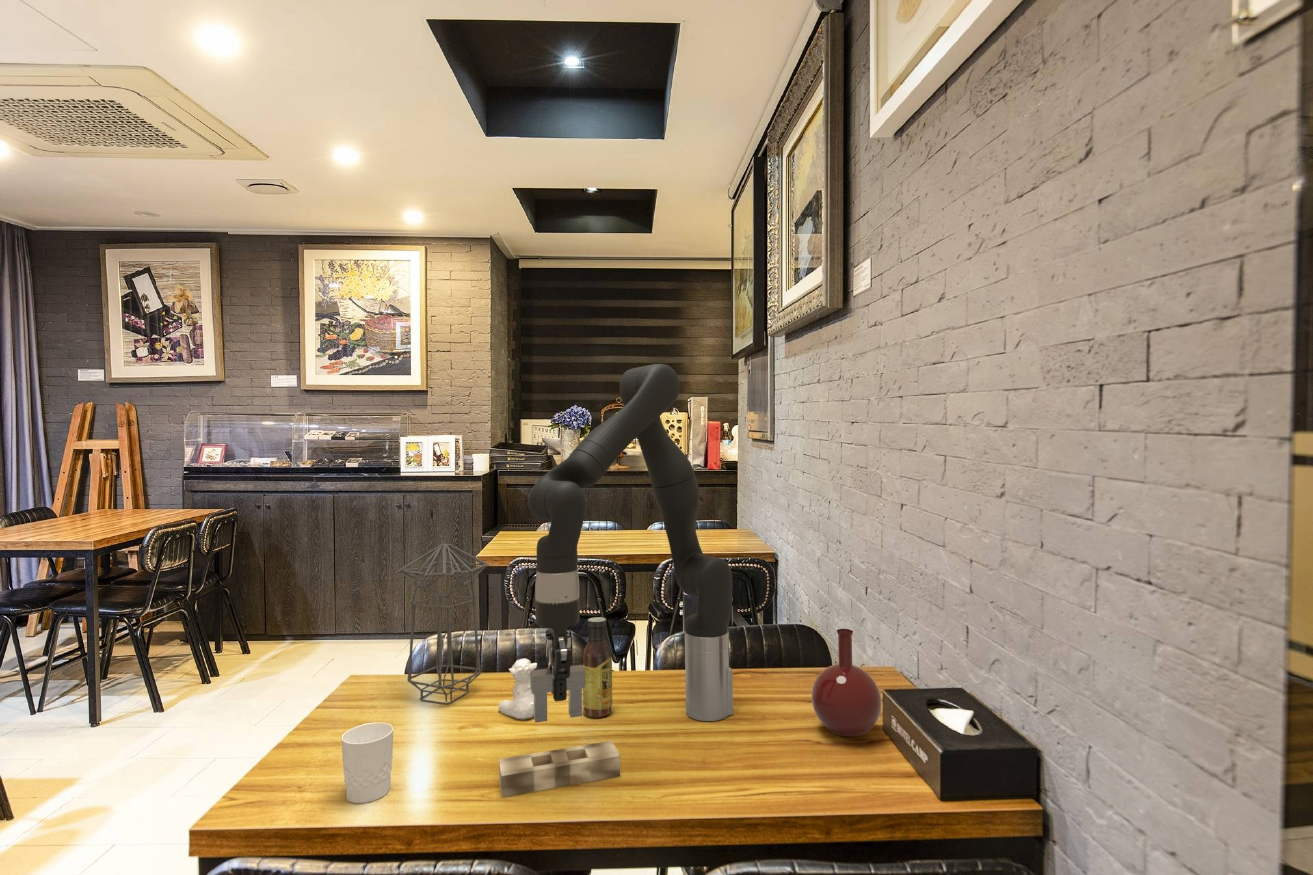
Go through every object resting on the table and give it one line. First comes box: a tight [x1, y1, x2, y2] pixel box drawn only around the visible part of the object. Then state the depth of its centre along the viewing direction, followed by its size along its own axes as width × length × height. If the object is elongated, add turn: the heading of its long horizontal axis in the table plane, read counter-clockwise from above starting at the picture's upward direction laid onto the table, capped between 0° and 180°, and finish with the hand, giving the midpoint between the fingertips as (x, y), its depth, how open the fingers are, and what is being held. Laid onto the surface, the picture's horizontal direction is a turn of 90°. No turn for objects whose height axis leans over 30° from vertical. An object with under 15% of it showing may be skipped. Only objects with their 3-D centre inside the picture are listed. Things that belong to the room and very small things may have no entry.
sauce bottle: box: [582, 616, 613, 719], centre depth 137 cm, size 7×6×20 cm
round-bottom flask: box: [811, 628, 883, 737], centre depth 126 cm, size 13×13×20 cm
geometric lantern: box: [398, 543, 490, 706], centre depth 148 cm, size 16×16×35 cm
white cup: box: [341, 722, 394, 804], centre depth 107 cm, size 8×8×10 cm
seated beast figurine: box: [498, 657, 538, 721], centre depth 137 cm, size 10×9×12 cm
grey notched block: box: [530, 664, 585, 724], centre depth 110 cm, size 9×3×8 cm, turn 108°
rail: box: [498, 740, 621, 798], centre depth 110 cm, size 20×6×4 cm, turn 108°
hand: (558, 695), depth 111 cm, fingers closed on grey notched block, 3 cm apart
